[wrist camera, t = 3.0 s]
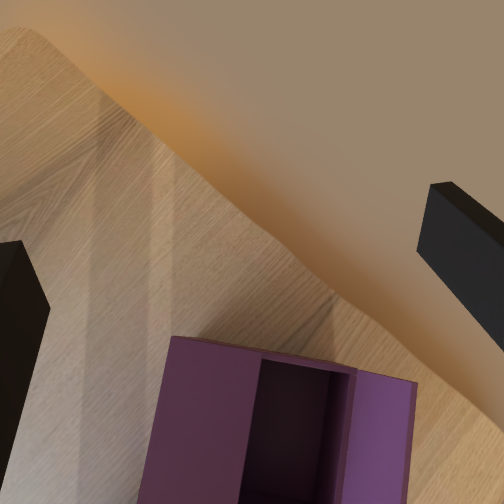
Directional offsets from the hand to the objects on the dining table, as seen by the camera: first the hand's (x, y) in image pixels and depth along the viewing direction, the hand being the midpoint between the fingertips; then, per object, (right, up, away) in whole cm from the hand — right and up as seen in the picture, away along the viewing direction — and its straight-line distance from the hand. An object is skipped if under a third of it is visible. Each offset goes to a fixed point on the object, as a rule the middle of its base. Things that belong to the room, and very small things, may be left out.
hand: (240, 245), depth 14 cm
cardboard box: (+1, -16, +27) cm, 32 cm away
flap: (+8, -14, +12) cm, 21 cm away
